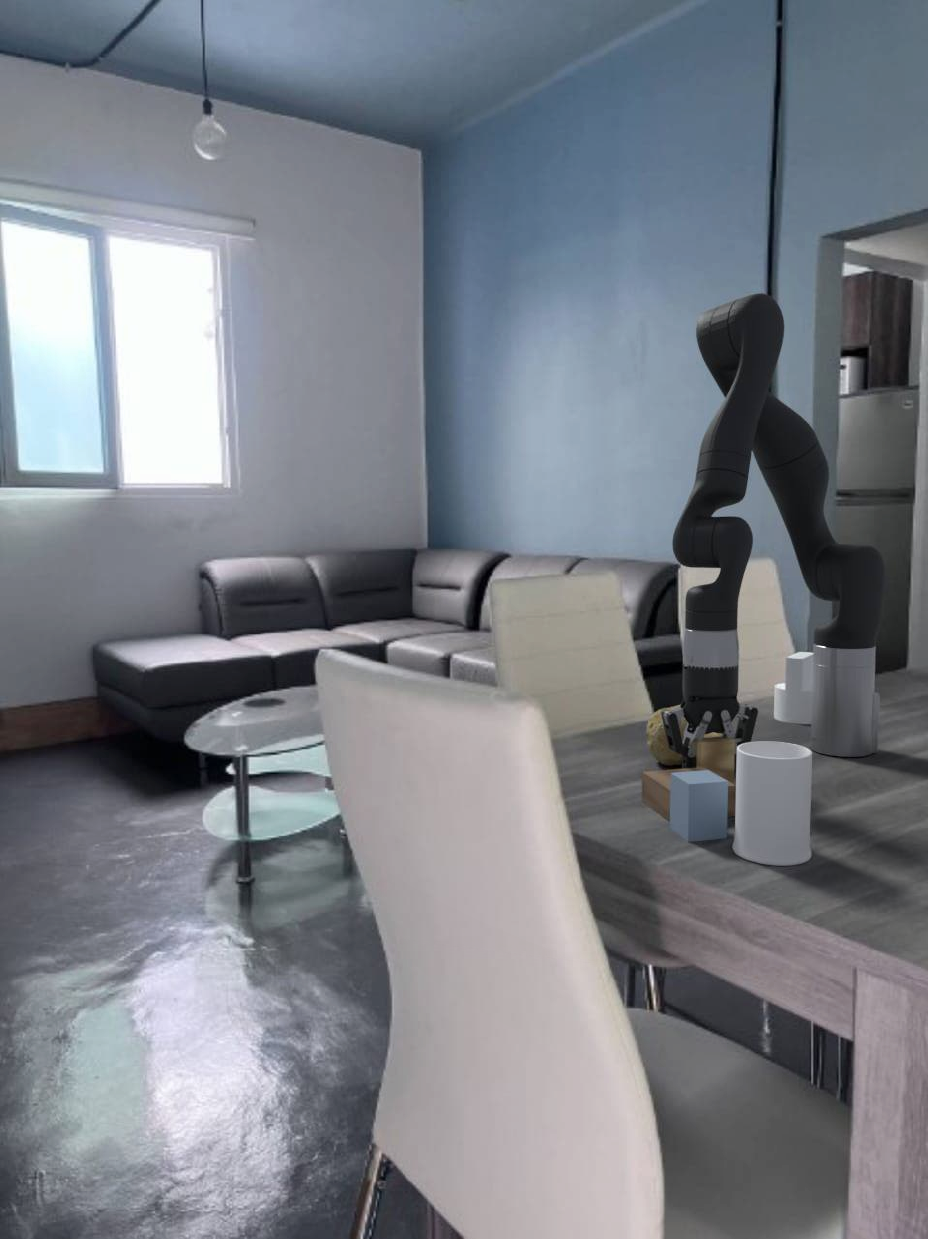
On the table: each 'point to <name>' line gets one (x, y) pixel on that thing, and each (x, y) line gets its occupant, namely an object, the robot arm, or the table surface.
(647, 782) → the walnut slab
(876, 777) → the table surface
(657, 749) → the coral
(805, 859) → the mug
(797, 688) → the base with upright slab
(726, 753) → the oak block
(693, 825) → the slate block
